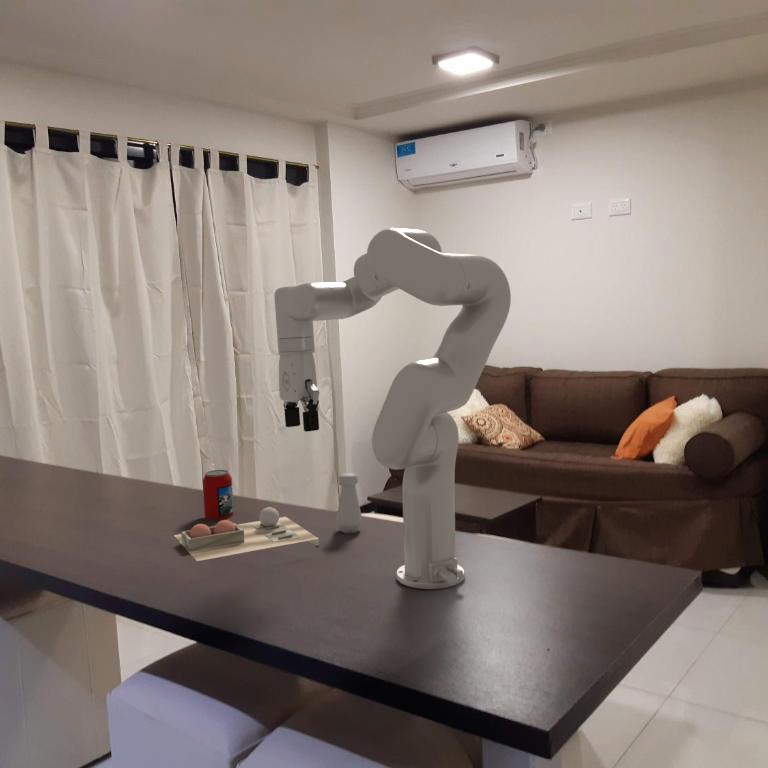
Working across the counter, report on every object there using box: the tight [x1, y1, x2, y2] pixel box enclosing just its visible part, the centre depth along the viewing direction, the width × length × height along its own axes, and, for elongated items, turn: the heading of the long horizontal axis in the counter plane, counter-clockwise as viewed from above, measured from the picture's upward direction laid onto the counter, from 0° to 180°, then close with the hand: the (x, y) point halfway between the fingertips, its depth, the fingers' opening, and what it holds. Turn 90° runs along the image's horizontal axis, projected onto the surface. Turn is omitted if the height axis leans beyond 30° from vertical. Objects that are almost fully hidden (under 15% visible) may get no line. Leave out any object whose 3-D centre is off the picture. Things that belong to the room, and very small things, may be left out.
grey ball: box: [259, 506, 280, 527], centre depth 173 cm, size 4×4×4 cm
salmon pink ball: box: [214, 519, 235, 534], centre depth 164 cm, size 4×4×4 cm
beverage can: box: [202, 469, 235, 521], centre depth 183 cm, size 7×7×12 cm
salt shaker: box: [335, 472, 363, 534], centre depth 173 cm, size 6×6×13 cm
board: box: [173, 516, 320, 562], centre depth 166 cm, size 20×26×4 cm
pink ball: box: [190, 523, 211, 538], centre depth 161 cm, size 4×4×4 cm
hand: (302, 428), depth 161 cm, fingers open, 9 cm apart
